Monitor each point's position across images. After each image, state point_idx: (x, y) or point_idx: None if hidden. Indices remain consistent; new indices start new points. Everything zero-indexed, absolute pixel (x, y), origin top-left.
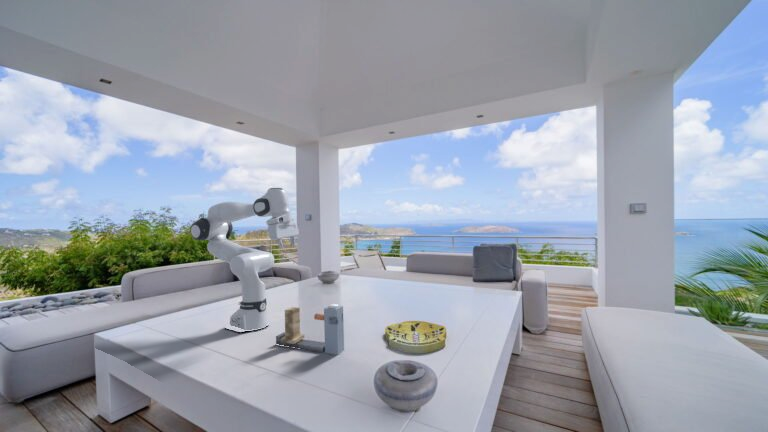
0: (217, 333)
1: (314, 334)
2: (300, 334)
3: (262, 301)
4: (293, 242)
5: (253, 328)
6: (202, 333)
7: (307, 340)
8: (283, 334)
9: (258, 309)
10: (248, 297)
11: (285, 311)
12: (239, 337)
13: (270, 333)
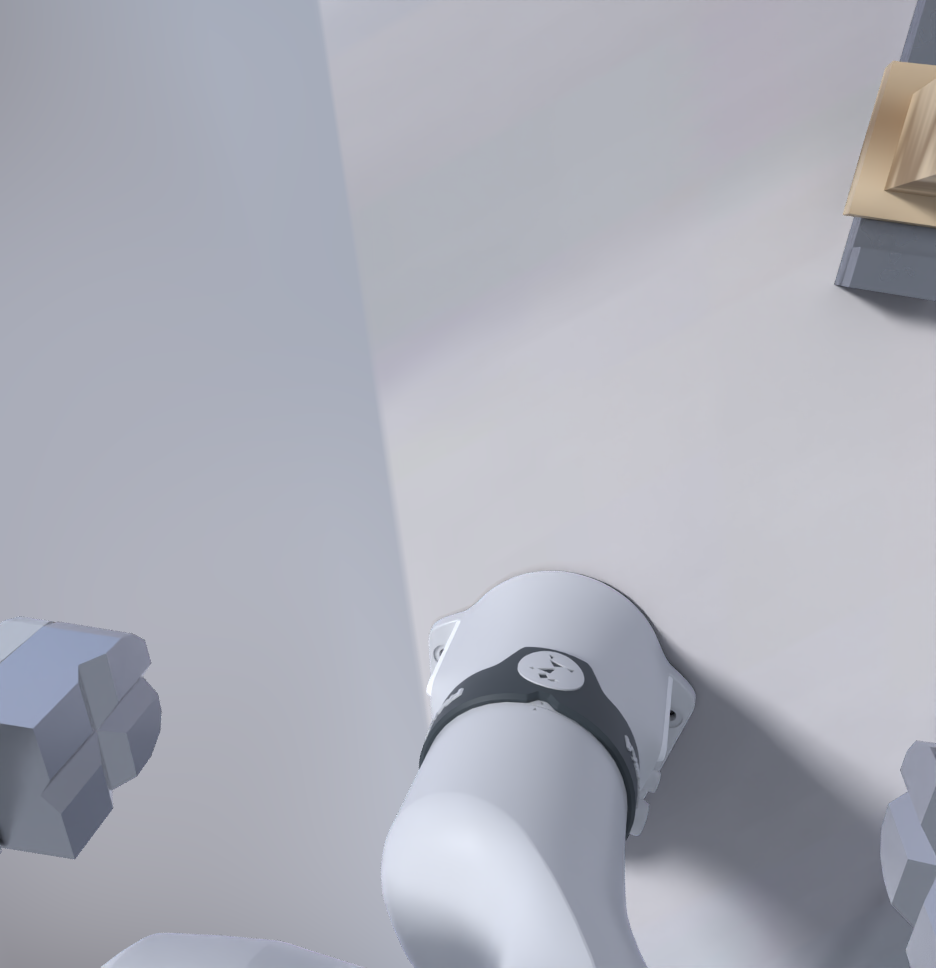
0: (697, 845)
1: (670, 93)
2: (893, 100)
3: (540, 700)
4: (34, 703)
5: (645, 636)
6: (703, 934)
7: (933, 11)
8: (905, 259)
9: (596, 682)
10: (624, 831)
11: None
12: (765, 663)
13: (672, 481)
